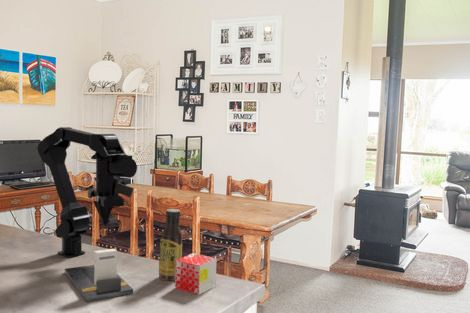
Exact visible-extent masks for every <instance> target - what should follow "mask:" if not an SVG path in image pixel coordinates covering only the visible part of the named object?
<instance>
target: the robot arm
mask: <svg viewBox="0 0 470 313" xmlns="http://www.w3.org/2000/svg"><path fill="white" fill-rule="evenodd" d="M71 142H72V143H76V144H80V145H83V146H87V147H88V148H89V149H90V150H91V151H93V152H95V153H94V154H93V155H92V156H91V157H90V159H91V160H95V161H96V162H95V177H93V180H94V182H95V188H89V190H88V191H87V198H89V199H93V198H95V200H93V201H92V203H93V205H94V207H95V210H96V211H97V214H98V216H99V219H100V220H101V222H102V225H103V226H106V225H108V222H109V220H110V216H111V213H112V210H113V209H114V208H115V207H124V206H125V198H124V197H122V196H121V195H123V196H126V197H127V198H131V197H132V195H133V191H134V189H135V188H134V187H132V186H129V185H127V182H126V181H124V180H121V179H120V180H119V179H118V177H123V178H133V177H134V176H135V175H136V173H137V172H138V164H137V162H136V160H135V159H134V158H133V154H126V152H125V150H124V148H123V145H122V144H121V143H120V140H119V138H118V135H117V134H115V133H93V132H90V131H89V132H88V131H84V130H81V129H76V128H73V127H68V126H67V127H64V126H63V127H62V126H61V127H57V128H56V129H55V131H54V132H52V133H51V134H48V135H47V136H45V137H44V138H43V139H42V140H40V141H39V144H37V152H38V155H39V158H40V159H41V161H42V162H43V163H44V164H45V165H46V166H47V167H48V168H49V171H50V173H51V176H52V180H53V182H54V186H55V189H56V191H57V192H56V193H57V195H58V199H59V201H60V204H61V208H62V209H61V213H60V217H59V219H60V224H59V225H58V226H57V227H56V229H55V230H54V231H55V237H57V238H61V250H59V251H57V254H58V255H61V256H64V257H66V258H71V257H75V256H76V257H77V256H79V255H84V254H86V251H84V250H82V248H83V247H82V246H83V245H82V243H83V242H82V235H86V234H87V232H88V229H89V226H90V225H91V221H90V218H91V216H90V214H89V212H88V208H87V206H86V205H83V206H82V205H81V204H79V202H78V199H77V196H76V193H75V190H74V187H73V184H72V181H71V178H70V175H69V172H68V170H67V166H66V165H67V164H66V159H67V156H68V153H67V149H68V148H70V146H71Z"/></svg>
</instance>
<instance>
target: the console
mask: <svg viewBox="0 0 470 313" xmlns="http://www.w3.org/2000/svg"><path fill="white" fill-rule="evenodd" d="M64 274H65V275H66V277H67V278H68V279H69V281H70V282H71V283H72V285H73V286H74V287H75V289H76V290H77V292H78V293H79V294H80V296H81V297H82V298H83V299H84V301H85V302H86V303H87V302H93V301H98V300H99V301H100V300H103V299H110V298H111V299H112V298H115V297H116V298H118V297H121V296H127V295H134V288H132V287H131V286H130V285H129V284H128V282H126V281H125V280H124V279H123V278H122V277H121V276H120V275H119V274H118V273H117V278H112V279H105V280H99V281H96V285H95V284H94V264H90V265H84V266H83V265H82V266H76V267H68V268H67V267H66V268H64Z"/></svg>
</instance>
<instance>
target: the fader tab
mask: <svg viewBox="0 0 470 313" xmlns="http://www.w3.org/2000/svg"><path fill="white" fill-rule="evenodd" d="M93 260H94V264H93V265H94V284H95V285H96V281H99V280H105V279H112V278H117V274H118V273H117V271H118V270H117V268H118V263H117V262H118V251H117V249H116V248H109V249H107V248H106V249H99V250H94V259H93Z"/></svg>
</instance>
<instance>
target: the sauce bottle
mask: <svg viewBox="0 0 470 313" xmlns="http://www.w3.org/2000/svg"><path fill="white" fill-rule="evenodd" d="M165 216H166V218H165V227H164V229H163V232H162V234H161V237H160V243H159V244H160V245H159V261H158V277H159V279H160V280H163V281H168V282H173V281H175V280H176V260H177V259H180V258H182V257H183V256H182V254H183V232H182V230H181V227H180V216H181V210H180V209H177V208H169V209H168V208H167V209H166V211H165Z"/></svg>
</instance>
